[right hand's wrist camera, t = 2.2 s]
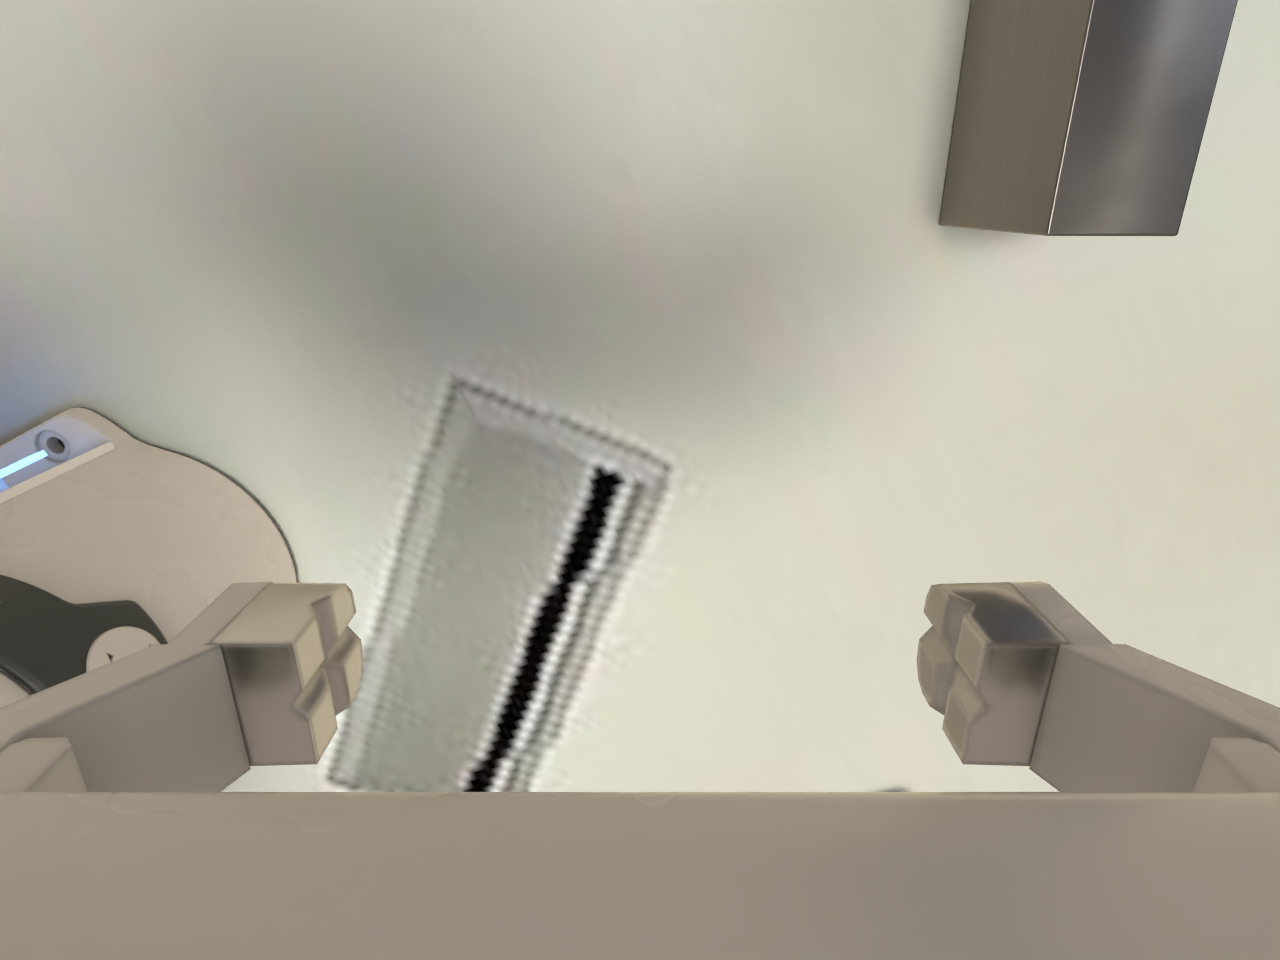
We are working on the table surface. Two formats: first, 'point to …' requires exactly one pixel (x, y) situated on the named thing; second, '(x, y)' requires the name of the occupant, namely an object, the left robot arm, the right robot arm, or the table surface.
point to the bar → (1082, 114)
